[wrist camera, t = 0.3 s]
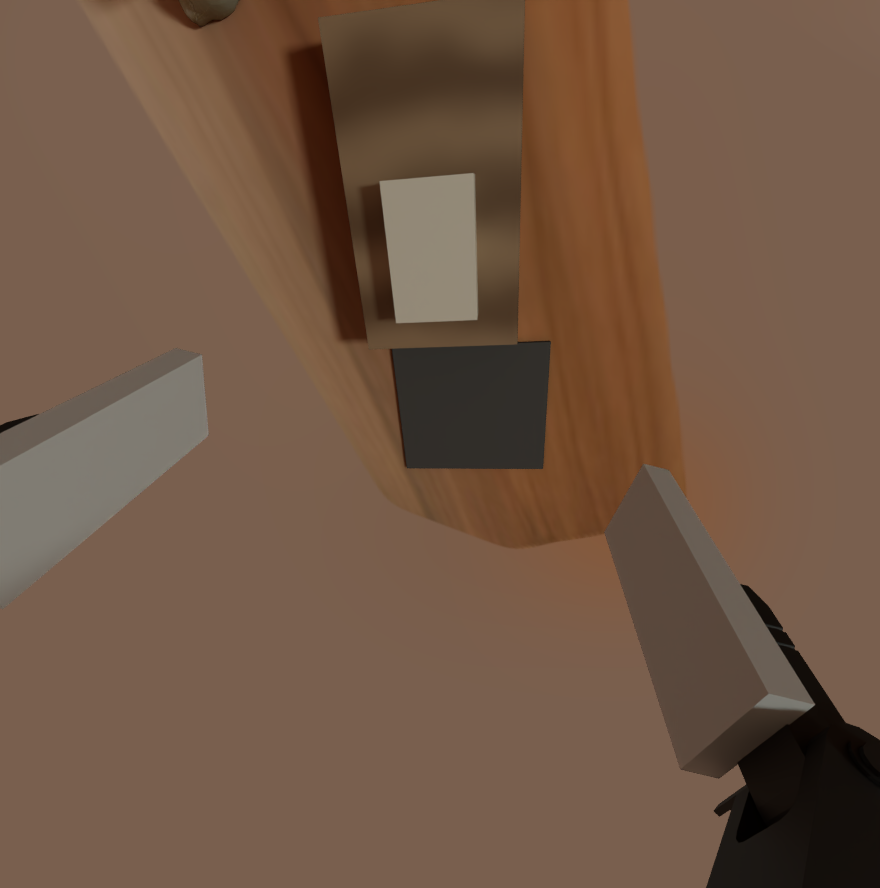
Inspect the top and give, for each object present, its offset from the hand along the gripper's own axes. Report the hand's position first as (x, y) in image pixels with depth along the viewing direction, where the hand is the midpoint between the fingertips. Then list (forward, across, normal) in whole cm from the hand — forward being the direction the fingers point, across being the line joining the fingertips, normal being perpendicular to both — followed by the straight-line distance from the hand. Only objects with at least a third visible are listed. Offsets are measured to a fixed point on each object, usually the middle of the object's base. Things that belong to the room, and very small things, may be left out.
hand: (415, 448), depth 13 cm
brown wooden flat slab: (+26, -4, +5) cm, 27 cm away
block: (+22, -3, +2) cm, 23 cm away
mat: (+26, +3, -11) cm, 29 cm away
